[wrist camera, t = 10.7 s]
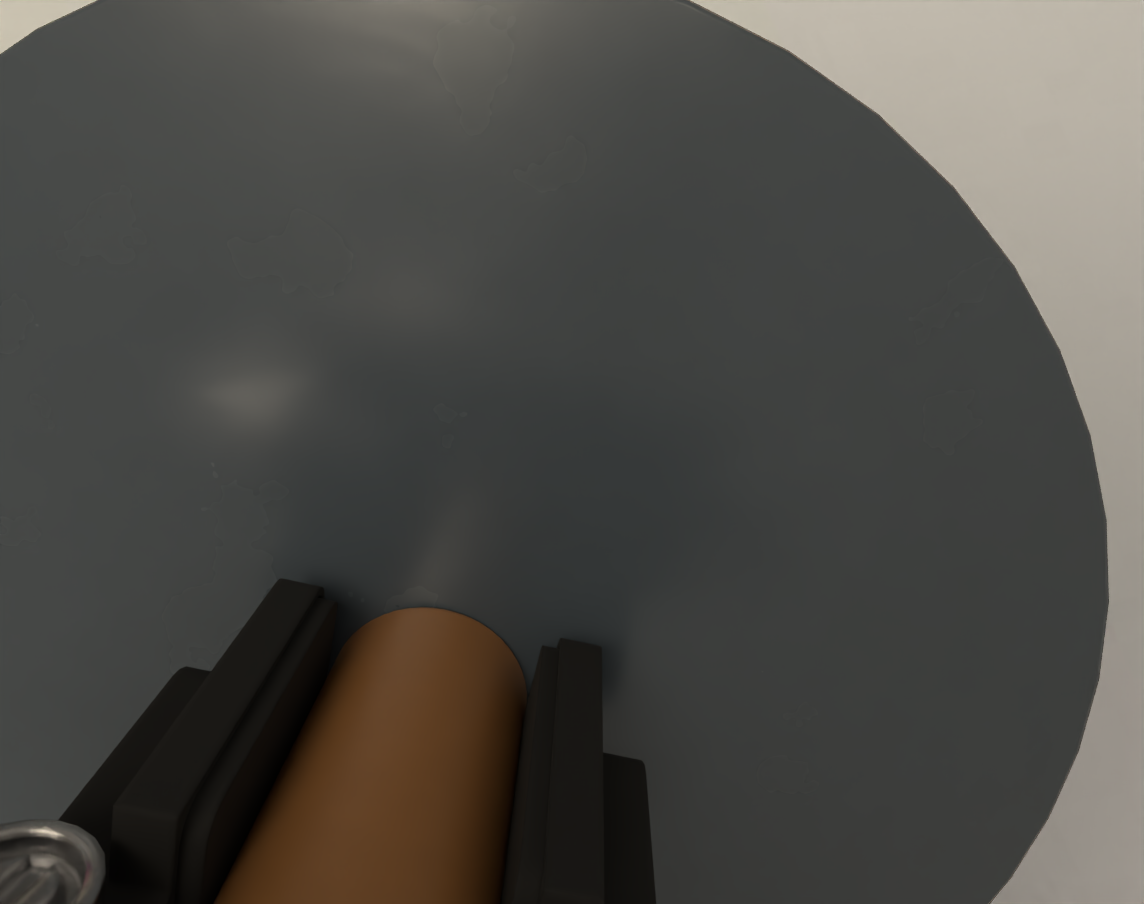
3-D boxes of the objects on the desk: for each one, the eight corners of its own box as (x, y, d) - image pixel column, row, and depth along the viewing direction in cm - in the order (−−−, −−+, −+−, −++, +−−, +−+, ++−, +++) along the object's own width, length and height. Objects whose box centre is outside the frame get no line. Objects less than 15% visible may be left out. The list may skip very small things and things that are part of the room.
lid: (1308, 168, 10) (2298, 202, 4) (824, 1132, 16) (956, 1700, 10) (-219, -221, 9) (-1664, -867, 3) (-131, 955, 15) (-590, 1468, 9)
